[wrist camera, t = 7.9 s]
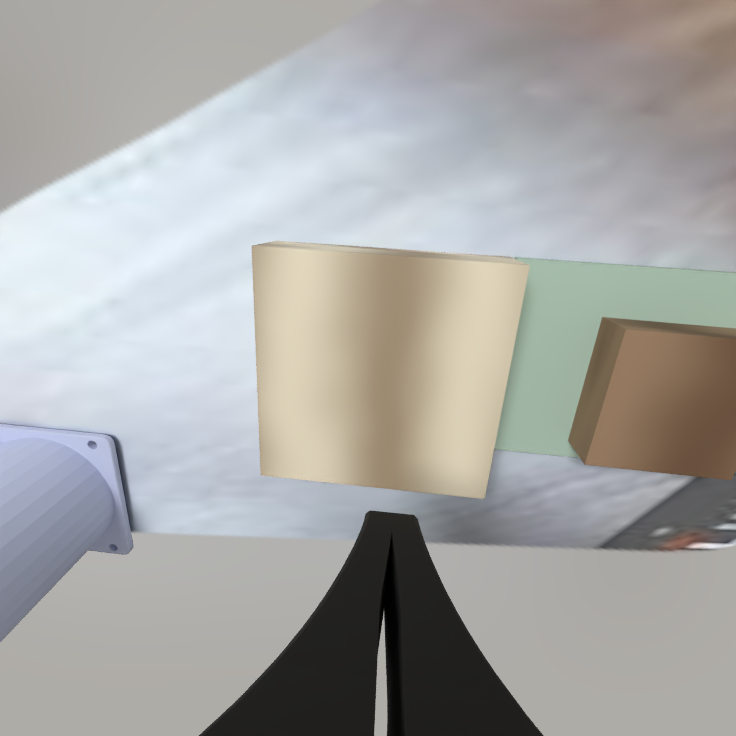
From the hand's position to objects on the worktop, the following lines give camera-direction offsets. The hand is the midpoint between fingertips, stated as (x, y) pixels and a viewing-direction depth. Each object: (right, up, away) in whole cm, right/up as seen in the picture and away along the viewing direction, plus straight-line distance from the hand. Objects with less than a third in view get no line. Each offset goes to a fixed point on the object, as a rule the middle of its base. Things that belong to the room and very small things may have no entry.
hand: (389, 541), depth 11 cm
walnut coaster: (+12, +3, +5) cm, 13 cm away
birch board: (0, +5, +8) cm, 9 cm away
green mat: (+11, +5, +7) cm, 14 cm away
